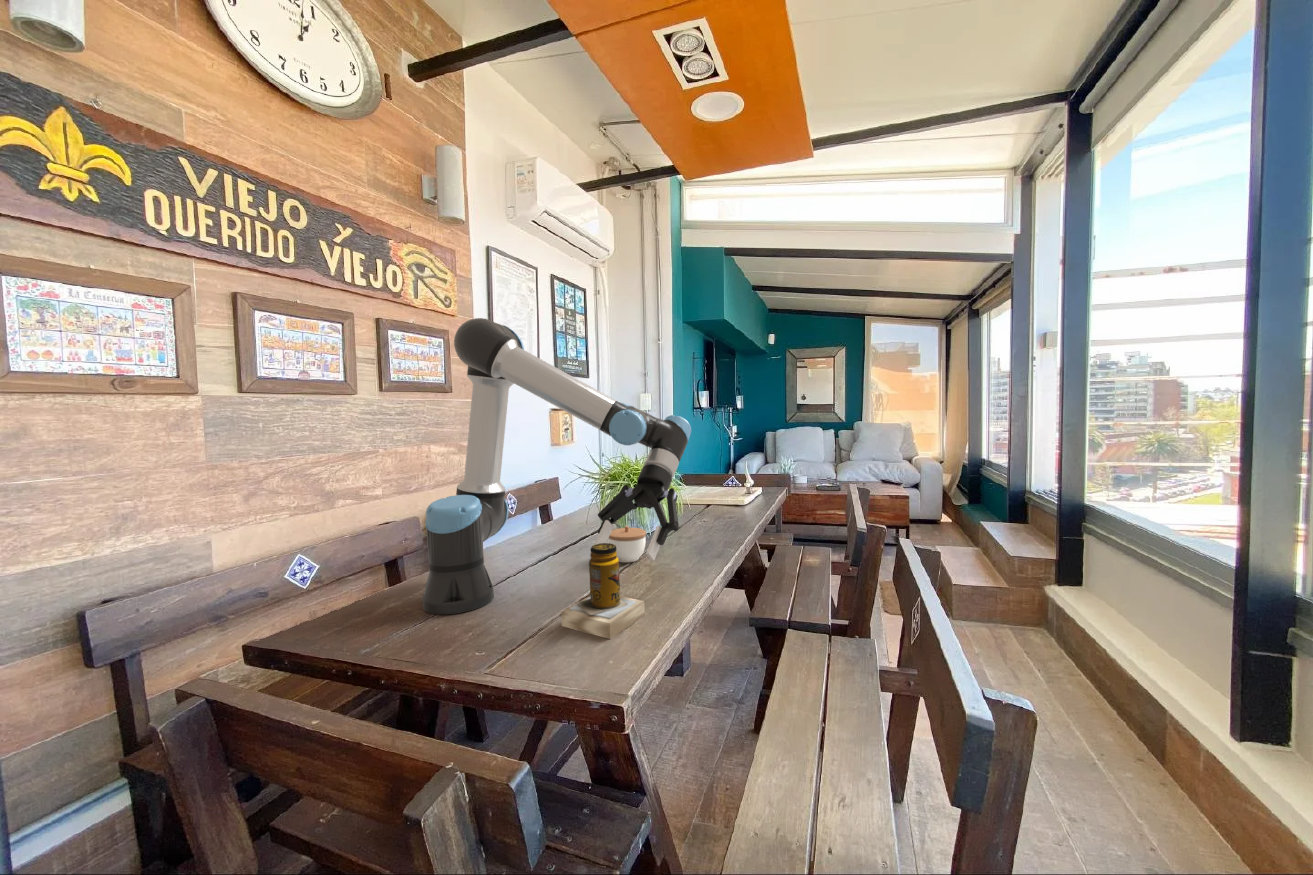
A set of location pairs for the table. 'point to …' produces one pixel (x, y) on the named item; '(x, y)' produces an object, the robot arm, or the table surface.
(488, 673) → the table surface
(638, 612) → the plinth
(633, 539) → the lidded jar
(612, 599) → the condiment
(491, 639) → the table surface
